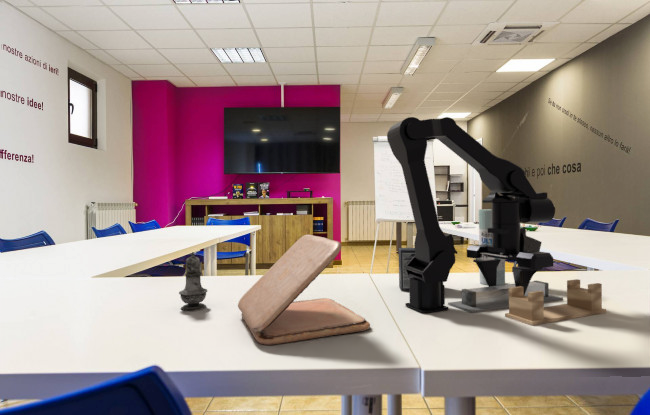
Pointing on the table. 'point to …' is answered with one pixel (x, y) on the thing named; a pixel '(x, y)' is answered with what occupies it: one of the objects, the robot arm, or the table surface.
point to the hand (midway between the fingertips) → (506, 294)
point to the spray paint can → (486, 239)
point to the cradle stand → (577, 305)
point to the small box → (404, 258)
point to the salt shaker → (193, 286)
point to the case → (285, 286)
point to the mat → (494, 305)
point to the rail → (497, 293)
